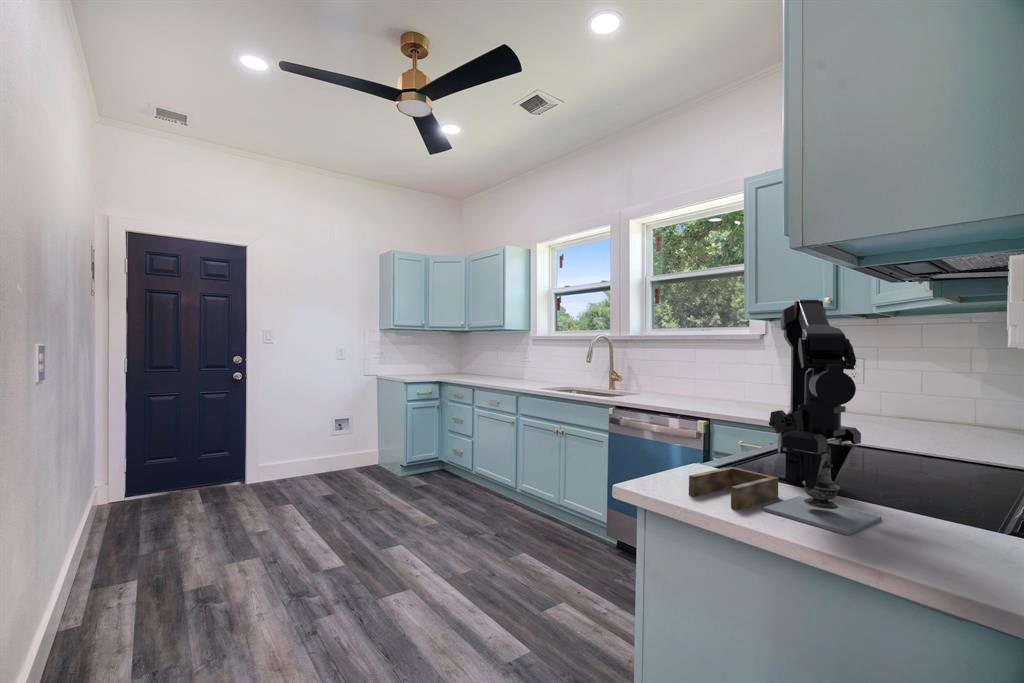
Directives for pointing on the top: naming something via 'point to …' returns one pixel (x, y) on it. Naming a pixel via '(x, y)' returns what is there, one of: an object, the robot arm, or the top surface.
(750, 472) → the brown wooden u-shaped frame
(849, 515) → the slate mat
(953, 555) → the top surface
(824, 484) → the grey tall turned piece
